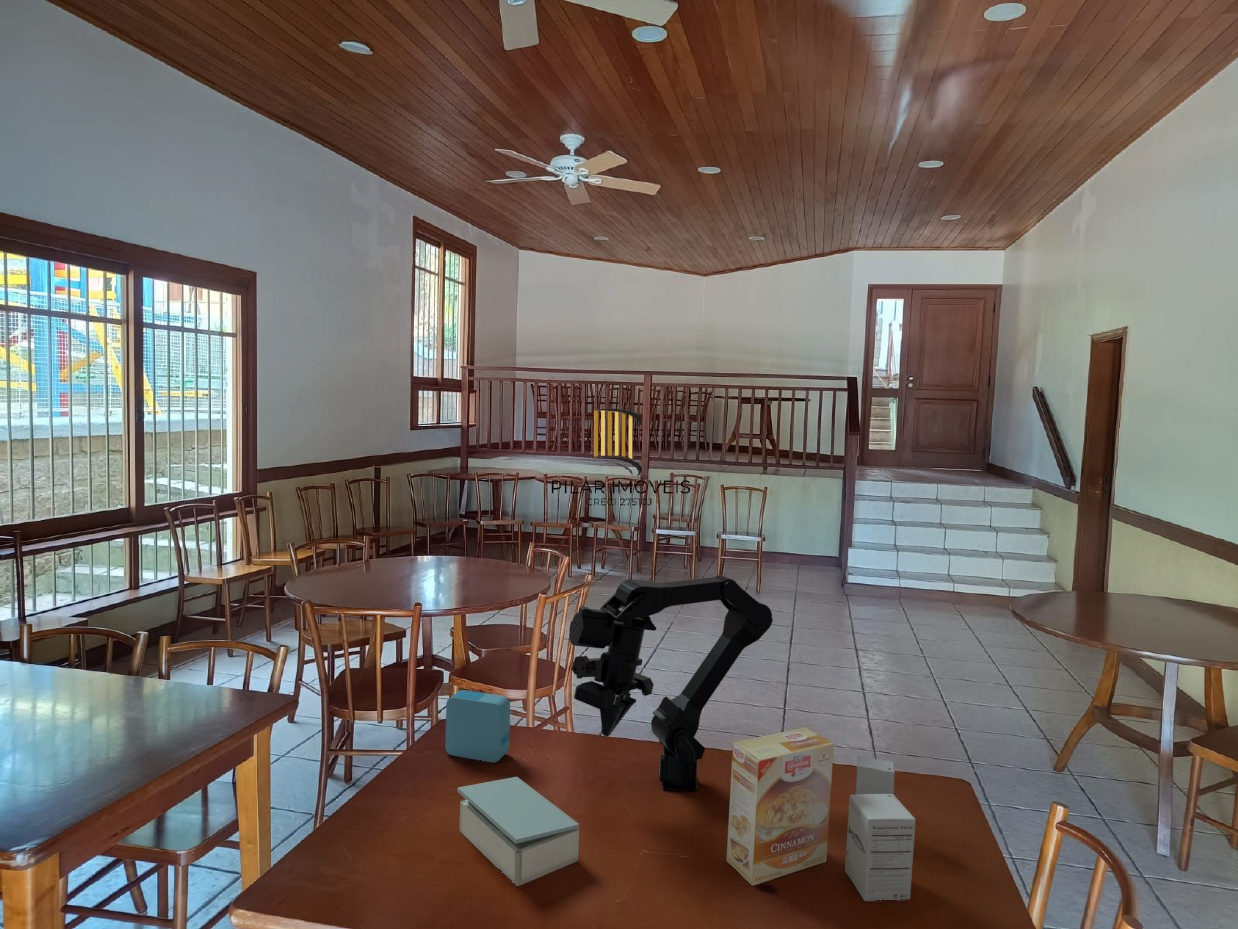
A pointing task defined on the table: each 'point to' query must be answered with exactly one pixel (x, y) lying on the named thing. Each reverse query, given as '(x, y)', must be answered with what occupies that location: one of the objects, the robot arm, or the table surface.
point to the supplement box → (880, 847)
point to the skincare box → (874, 776)
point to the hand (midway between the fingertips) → (605, 735)
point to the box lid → (517, 809)
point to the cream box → (518, 847)
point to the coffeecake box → (779, 804)
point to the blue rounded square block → (477, 726)
